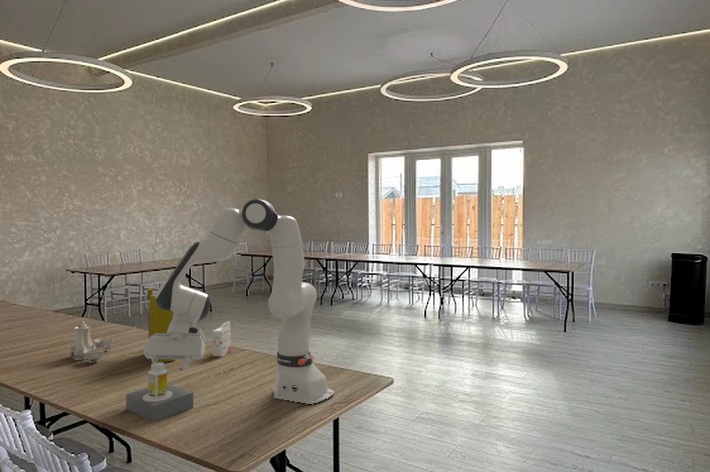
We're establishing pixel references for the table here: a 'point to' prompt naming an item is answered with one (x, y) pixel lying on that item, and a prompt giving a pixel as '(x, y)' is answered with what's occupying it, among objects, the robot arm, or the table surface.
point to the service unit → (159, 403)
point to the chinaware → (88, 345)
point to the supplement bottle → (157, 380)
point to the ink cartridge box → (222, 340)
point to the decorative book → (158, 319)
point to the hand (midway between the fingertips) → (168, 369)
